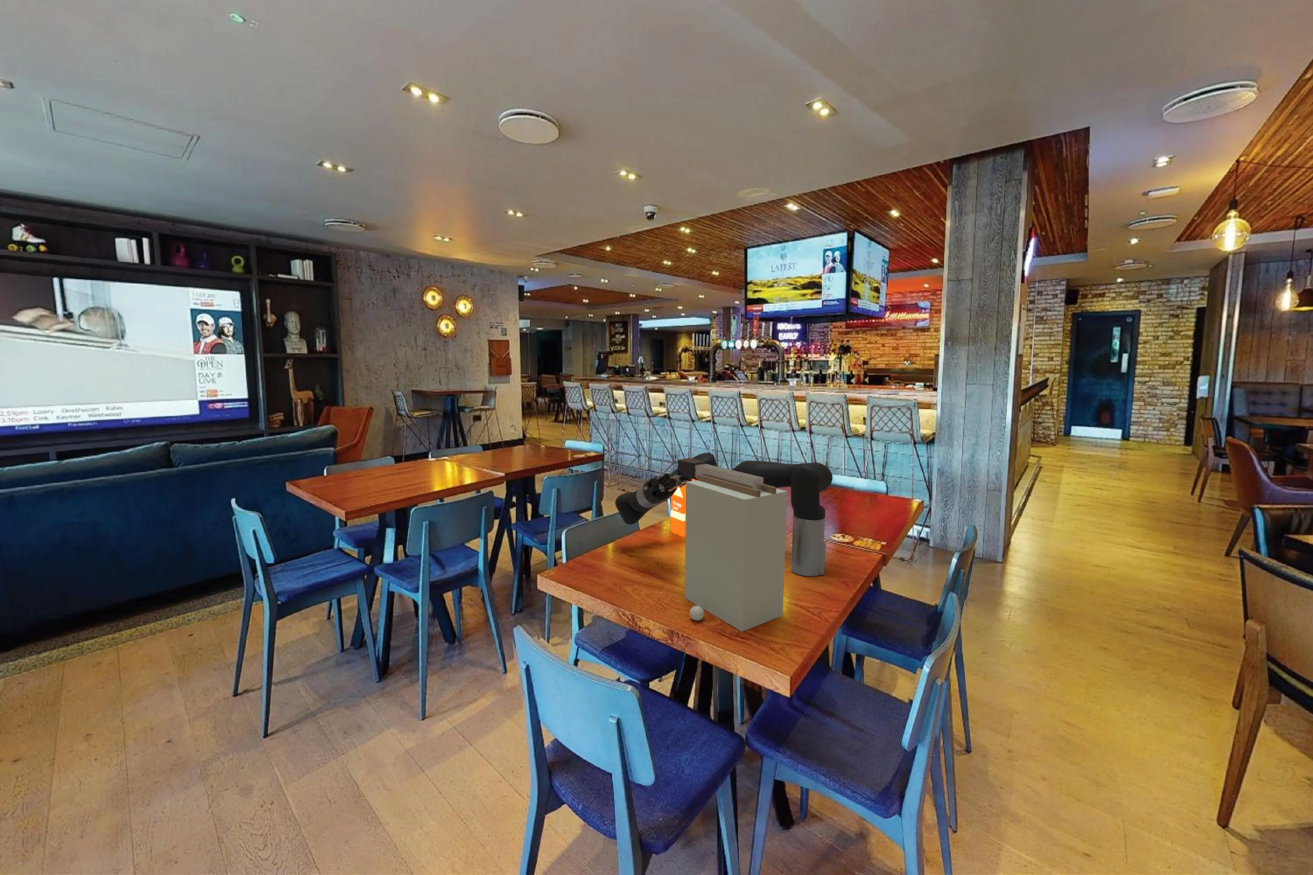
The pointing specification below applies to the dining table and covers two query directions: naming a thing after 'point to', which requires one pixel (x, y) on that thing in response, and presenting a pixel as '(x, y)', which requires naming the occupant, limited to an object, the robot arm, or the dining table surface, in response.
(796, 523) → the robot arm
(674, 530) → the orange juice
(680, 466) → the rod
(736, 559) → the stand
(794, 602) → the dining table surface
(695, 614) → the white ball
